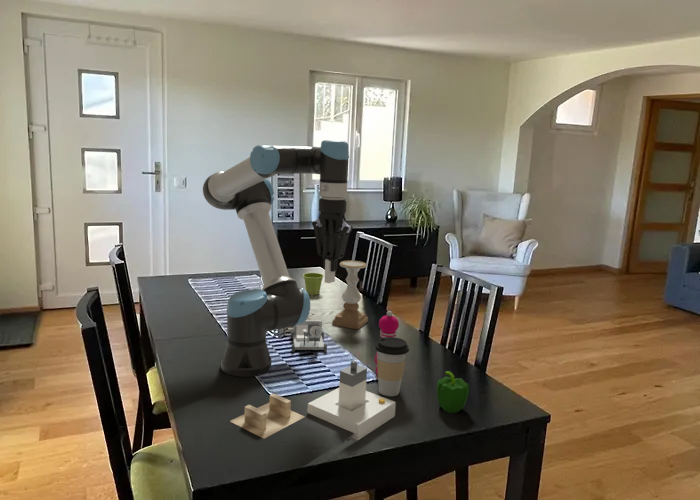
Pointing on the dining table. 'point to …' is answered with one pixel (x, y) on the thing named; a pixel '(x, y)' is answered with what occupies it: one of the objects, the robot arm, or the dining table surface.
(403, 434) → the dining table surface
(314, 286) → the plant pot
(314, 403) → the port block
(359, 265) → the candle holder
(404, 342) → the coffee cup
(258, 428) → the plate with raised blocks
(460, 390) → the bell pepper
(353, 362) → the plug
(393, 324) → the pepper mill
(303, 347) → the grey mechanical device
